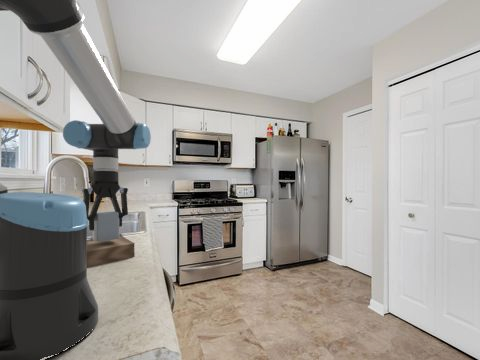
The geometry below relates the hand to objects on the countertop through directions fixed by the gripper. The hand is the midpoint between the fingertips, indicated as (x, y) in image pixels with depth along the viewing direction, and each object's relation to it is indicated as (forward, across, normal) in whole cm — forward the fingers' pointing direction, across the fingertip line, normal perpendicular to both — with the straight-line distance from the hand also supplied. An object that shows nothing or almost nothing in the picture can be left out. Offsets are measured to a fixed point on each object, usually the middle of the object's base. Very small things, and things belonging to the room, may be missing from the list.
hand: (106, 237), depth 78 cm
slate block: (0, 0, 0) cm, 0 cm away
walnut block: (+7, 0, 0) cm, 7 cm away
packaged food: (+7, -5, -20) cm, 22 cm away
